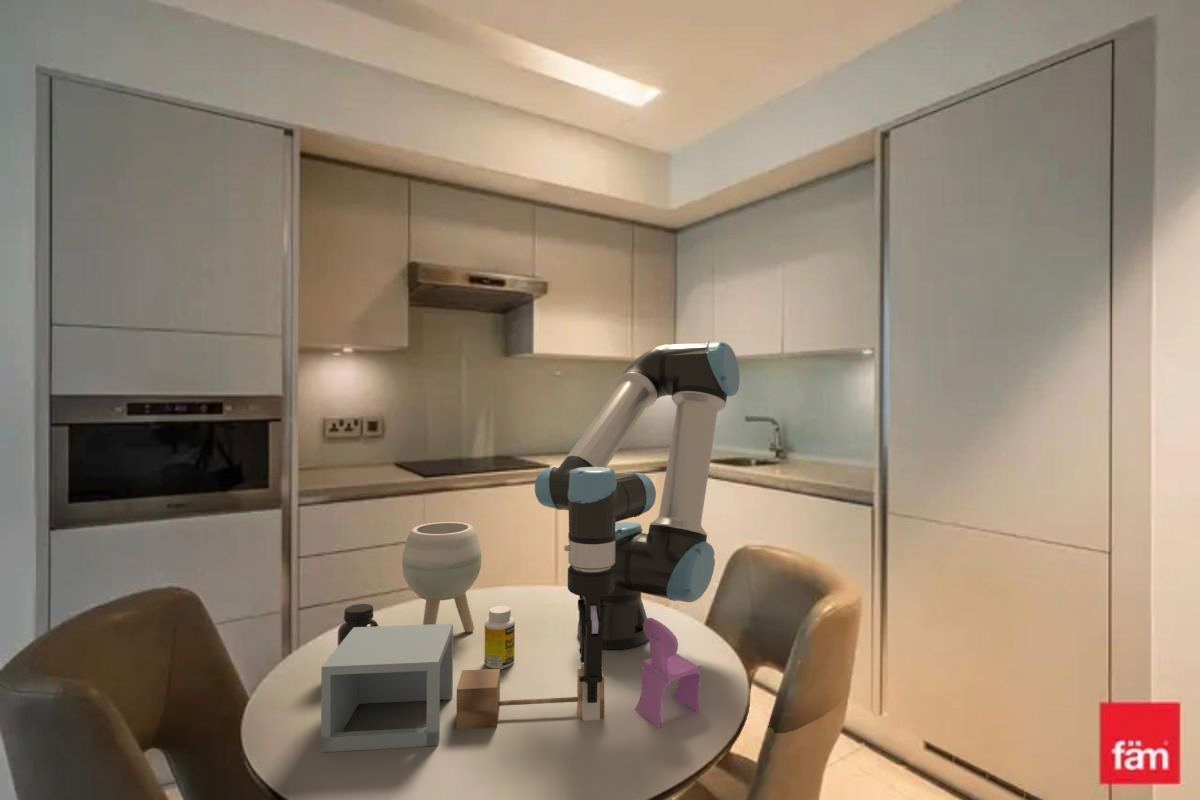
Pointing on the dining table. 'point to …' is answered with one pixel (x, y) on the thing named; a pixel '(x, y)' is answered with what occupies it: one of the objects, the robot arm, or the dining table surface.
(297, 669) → the dining table surface
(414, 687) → the shelf cubby
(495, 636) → the supplement bottle
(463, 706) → the tethered block
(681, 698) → the toy chair
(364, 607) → the supplement bottle
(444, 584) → the planter
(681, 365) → the robot arm
